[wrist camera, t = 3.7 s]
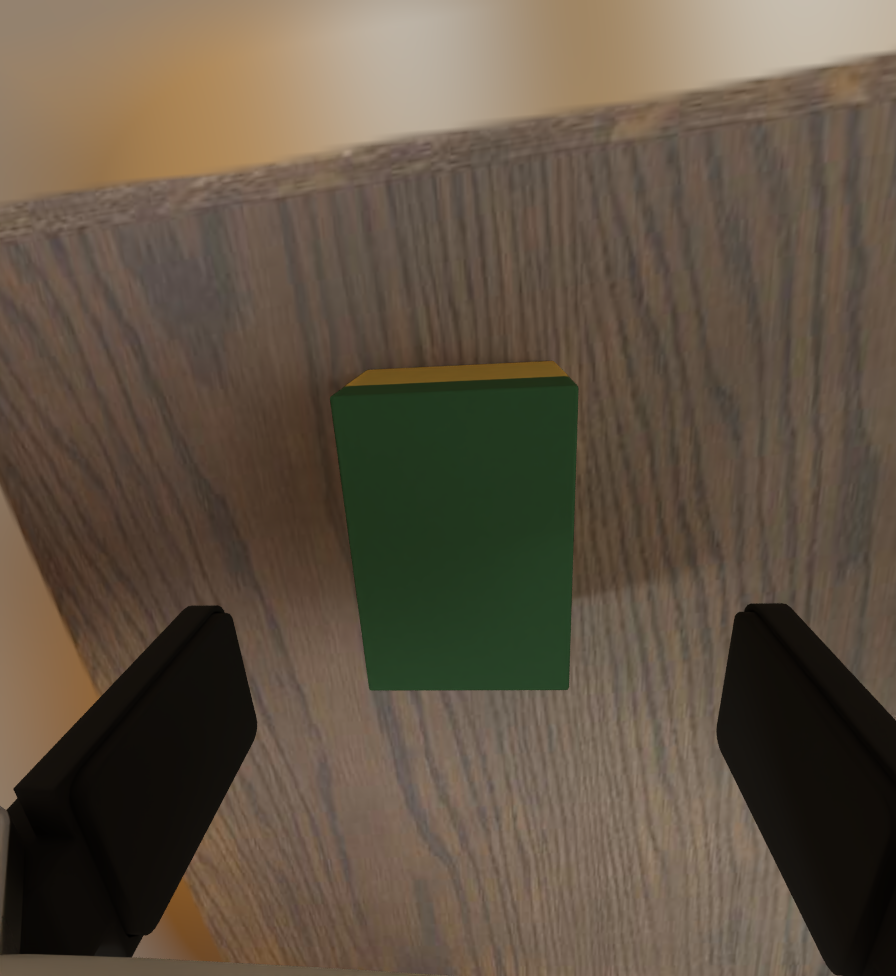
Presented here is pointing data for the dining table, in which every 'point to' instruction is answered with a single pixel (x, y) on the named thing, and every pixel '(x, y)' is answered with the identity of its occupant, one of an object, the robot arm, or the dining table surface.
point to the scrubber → (461, 523)
